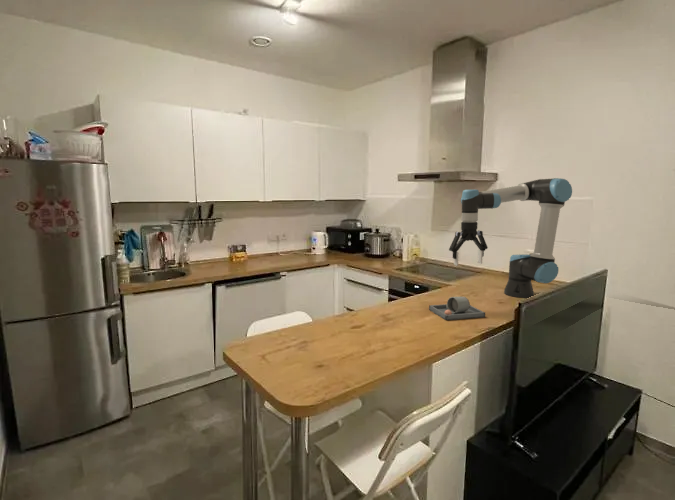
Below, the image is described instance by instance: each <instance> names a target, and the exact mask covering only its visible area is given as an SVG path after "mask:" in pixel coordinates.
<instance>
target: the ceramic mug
mask: <svg viewBox="0 0 675 500" xmlns="http://www.w3.org/2000/svg"><path fill="white" fill-rule="evenodd" d="M446 304H447V305H446V307H447V309H448V310H450V311H451V312H452V313H460V312H465V311H467V310H468V309H469V307H470V305H471V303H470V301H469V298H468V297H466V296H450V297H449V298H448V299H447V301H446Z"/></svg>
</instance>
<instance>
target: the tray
mask: <svg viewBox="0 0 675 500" xmlns="http://www.w3.org/2000/svg"><path fill="white" fill-rule="evenodd" d="M446 305H447V303H446V304H445V303H444V304H431V305H429V306H428V311H430V312H432V313H434V314H435V315H437V316H438V317H440V318H441V319H443V320H444V321H454V320H455V321H457V320H468V319H470V320H471V319H481V318H486V312H484V311H482V310H481V309H478V308H476V307H475V306H473V305H471V304H470V307H469V309H468V310H467V311H465V312H460V313H452V315H446V314H445V311H446V310H448V309H447V307H446Z"/></svg>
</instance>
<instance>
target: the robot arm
mask: <svg viewBox="0 0 675 500" xmlns="http://www.w3.org/2000/svg"><path fill="white" fill-rule="evenodd" d="M461 193H462V195H461V198H460V202H461V203H460V204H461V221H462V222H460V224H461V225H460V226H461V227H460V230H461V232H460V231H456V232H455V233H454V238H453V240H452V242H451V244H450V247H449V248H448V251H450V252H452V259H453V265H454V266H456V267H457V266H459V255H460V254H459V252H458V251H459V250H460V248H462V246H463V244H464V243H465V242H467V241H468V242H469V241H471V242H472V241H473V242H474V244H475V245H476V247H477V248H478V250H477V263H478V264H480V265H482V264H483V257H484V254H485V253H484V252H485V251H486V250H488V248H489V247H488V245H487V243H486V239H485V237H484V231H482V230H480V229H479V230H478V225H479V223H478V220H479V219H478V218H479V210H480V209H481V210H482V209H484V210H485V209H487V210H488V209H492V210H493V209H497V208H499V207H500V206H501V203H507V202H514V201H521V202H525V201H535V202H538V205H539V206H540V213H539V219H538V226H537V230H536V231H537V232H536V237H535V244H534V248H533V249H534V250H533V253H531V254H511V256H510V257H509V266H508V269H509V270H508V280H507V283H506V285H505V287H504V289H503V290H504V292H503V294H505V295H507V296H509V297H514V298H524V299H526V298H528V297H530V298H532V297H531V296H533V295H534V294H535V293H534V288H533V284H532V281H533V282H537V283H542V284H549V283H552V282H553V281H554V280H555V279H556V278H557V277H558V274H559V266H558V264H557V263H555V261H556V258H555V256H554V255H553V253H554V248H555V247H554V246H555V241H556V236H557V229H558V225H559V218H560V211H561V209H562V208H563V207H564V206H565V203H566V202H567V201H569V200H570V199H571V197H572V194H573V188H572V184H571V183H570V182H569V181H568V179H565V178H559V177H557V178H556V177H555V178H554V177H553V178H539V179H535V180H531V181H526V182H522V183H521V182H520V183H519V184H518V185H515V186H509V187H501V188H496V189H489V190H483V191H479V189H464V190H462V192H461ZM533 297H534V296H533ZM528 299H529V298H528Z"/></svg>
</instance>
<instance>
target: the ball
mask: <svg viewBox="0 0 675 500" xmlns="http://www.w3.org/2000/svg"><path fill="white" fill-rule="evenodd" d="M445 314H446V315H452V312H451V311H450V310H446V311H445Z"/></svg>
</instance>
